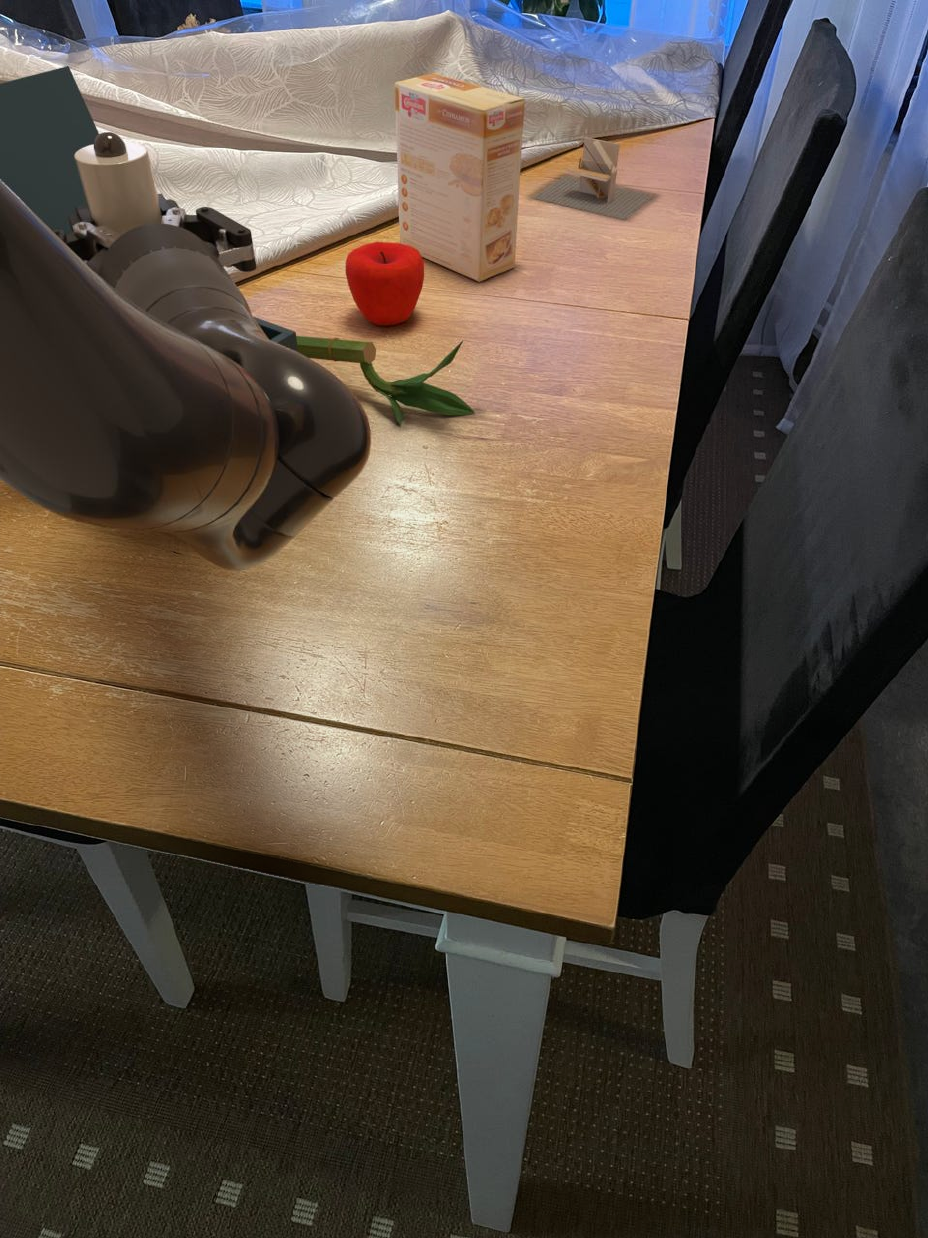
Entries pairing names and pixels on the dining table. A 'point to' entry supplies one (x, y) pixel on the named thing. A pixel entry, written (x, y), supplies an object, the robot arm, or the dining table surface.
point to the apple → (385, 281)
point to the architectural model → (595, 184)
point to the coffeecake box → (459, 173)
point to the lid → (45, 143)
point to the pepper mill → (118, 183)
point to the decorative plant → (402, 390)
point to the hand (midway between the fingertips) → (121, 214)
